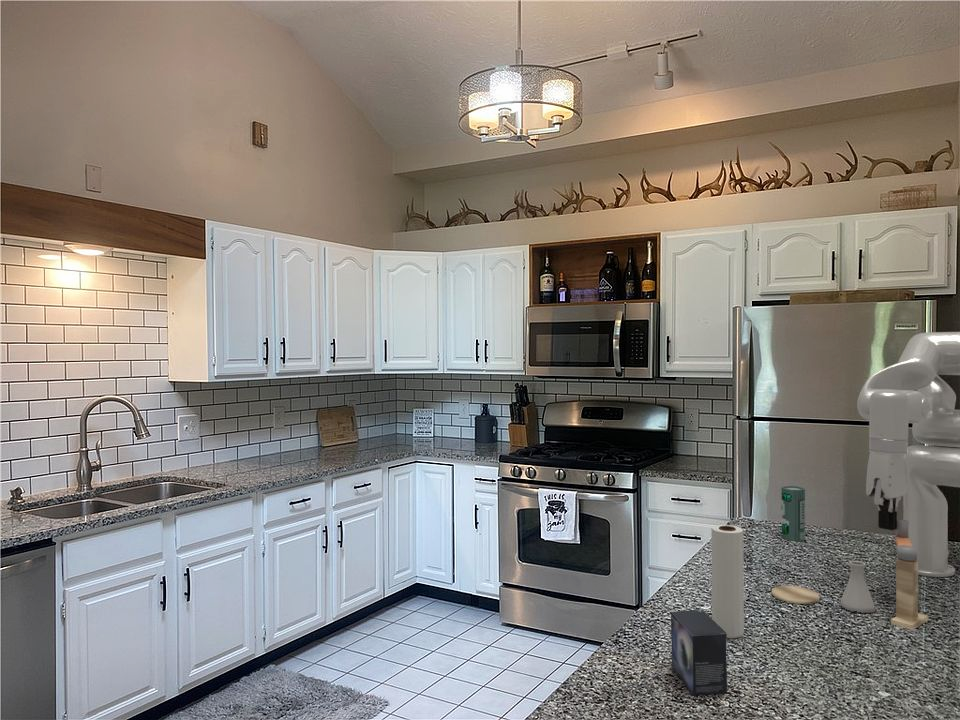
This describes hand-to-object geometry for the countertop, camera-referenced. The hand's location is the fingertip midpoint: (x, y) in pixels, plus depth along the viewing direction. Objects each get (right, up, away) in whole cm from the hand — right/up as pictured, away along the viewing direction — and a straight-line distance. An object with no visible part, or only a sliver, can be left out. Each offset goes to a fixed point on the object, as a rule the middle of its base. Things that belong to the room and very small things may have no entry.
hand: (887, 528), depth 156 cm
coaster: (-19, -17, +5) cm, 25 cm away
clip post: (-2, -17, -11) cm, 20 cm away
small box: (-53, -18, -34) cm, 66 cm away
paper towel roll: (-40, -18, -15) cm, 47 cm away
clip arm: (0, -3, -5) cm, 6 cm away
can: (+2, -16, +52) cm, 54 cm away
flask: (-8, -17, -3) cm, 19 cm away
